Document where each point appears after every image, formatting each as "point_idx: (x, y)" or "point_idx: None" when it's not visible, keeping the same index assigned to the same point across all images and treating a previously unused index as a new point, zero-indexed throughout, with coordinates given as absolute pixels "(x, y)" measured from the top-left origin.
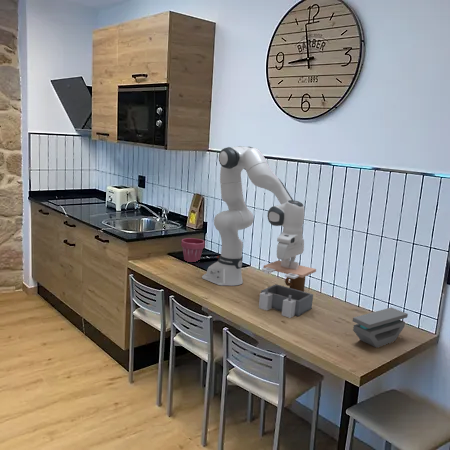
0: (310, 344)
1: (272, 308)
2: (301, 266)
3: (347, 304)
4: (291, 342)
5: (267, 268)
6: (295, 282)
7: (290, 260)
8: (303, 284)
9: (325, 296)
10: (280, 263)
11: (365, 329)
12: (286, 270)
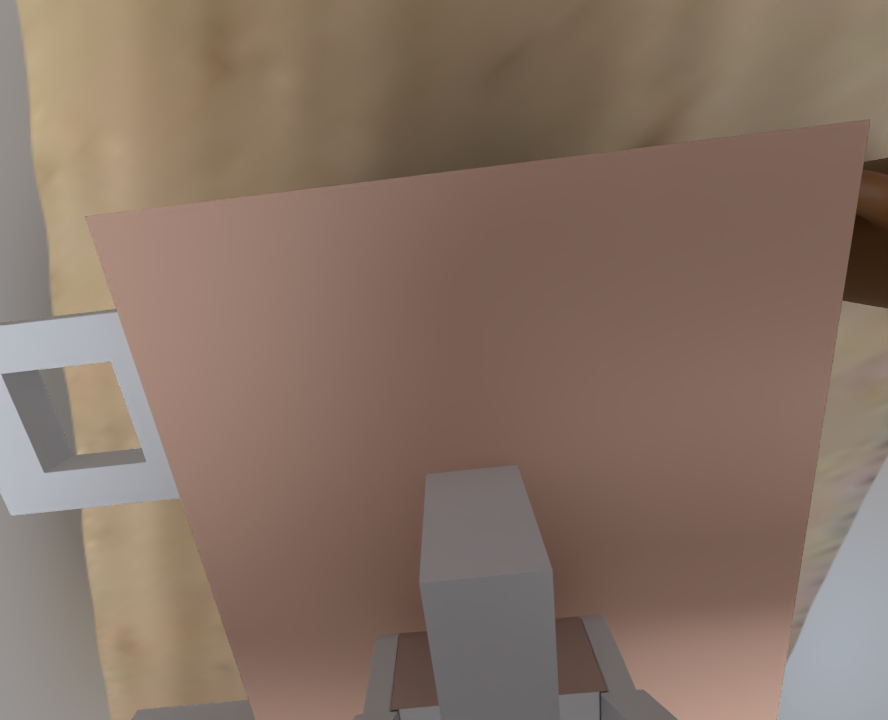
0: (162, 688)
1: None
2: (730, 683)
3: (803, 571)
4: (97, 638)
5: (98, 362)
6: (851, 256)
7: (609, 711)
8: (883, 307)
9: (868, 423)
10: (611, 349)
11: None
12: (280, 674)
